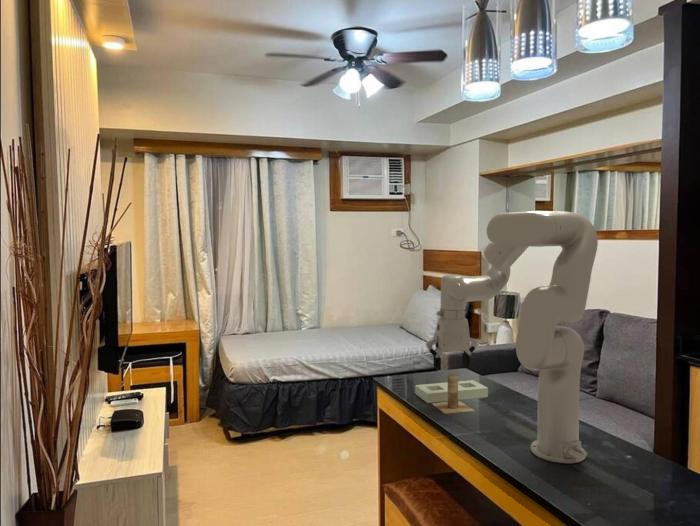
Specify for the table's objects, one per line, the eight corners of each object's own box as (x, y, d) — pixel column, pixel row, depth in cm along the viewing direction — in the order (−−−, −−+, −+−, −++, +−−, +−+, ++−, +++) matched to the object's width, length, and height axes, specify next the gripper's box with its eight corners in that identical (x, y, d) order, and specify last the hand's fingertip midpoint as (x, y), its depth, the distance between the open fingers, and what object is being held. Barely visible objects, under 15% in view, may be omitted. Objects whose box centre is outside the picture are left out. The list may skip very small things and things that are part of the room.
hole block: (488, 398, 168) (488, 387, 167) (427, 404, 162) (427, 393, 162) (473, 389, 177) (473, 380, 177) (415, 395, 172) (415, 385, 171)
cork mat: (475, 412, 154) (475, 410, 154) (445, 415, 152) (445, 413, 152) (459, 402, 164) (459, 400, 164) (431, 405, 161) (431, 403, 161)
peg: (459, 408, 157) (459, 376, 156) (450, 409, 156) (450, 377, 155) (455, 404, 160) (455, 374, 159) (445, 405, 159) (445, 374, 158)
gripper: (432, 317, 151) (431, 373, 152) (483, 315, 155) (482, 369, 156) (422, 313, 158) (421, 366, 159) (471, 311, 162) (470, 363, 164)
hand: (451, 368), depth 158 cm, fingers open, 9 cm apart
